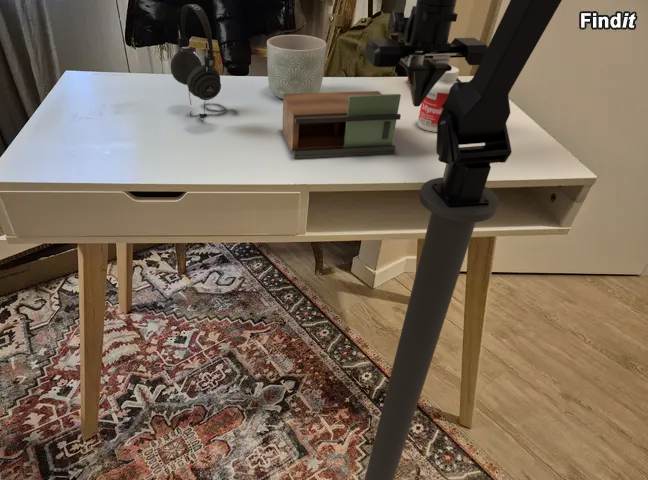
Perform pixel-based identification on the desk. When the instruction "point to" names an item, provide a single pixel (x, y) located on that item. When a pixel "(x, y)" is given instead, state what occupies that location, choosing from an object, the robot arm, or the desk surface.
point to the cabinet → (325, 125)
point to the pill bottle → (436, 100)
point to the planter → (295, 64)
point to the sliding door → (371, 130)
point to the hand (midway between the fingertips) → (415, 105)
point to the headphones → (196, 63)
